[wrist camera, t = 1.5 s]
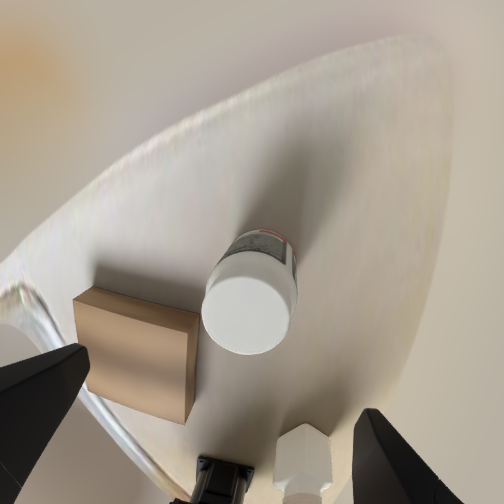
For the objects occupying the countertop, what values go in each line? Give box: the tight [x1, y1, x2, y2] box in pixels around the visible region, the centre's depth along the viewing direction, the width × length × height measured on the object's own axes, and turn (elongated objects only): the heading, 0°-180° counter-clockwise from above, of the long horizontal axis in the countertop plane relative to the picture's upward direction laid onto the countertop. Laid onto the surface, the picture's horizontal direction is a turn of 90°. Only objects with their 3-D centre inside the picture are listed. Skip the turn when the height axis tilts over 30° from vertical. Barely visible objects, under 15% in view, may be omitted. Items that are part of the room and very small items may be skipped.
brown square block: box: [73, 286, 200, 425], centre depth 23 cm, size 10×10×3 cm
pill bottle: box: [202, 229, 297, 355], centre depth 17 cm, size 5×5×8 cm
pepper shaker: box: [273, 423, 333, 504], centre depth 21 cm, size 4×4×10 cm
